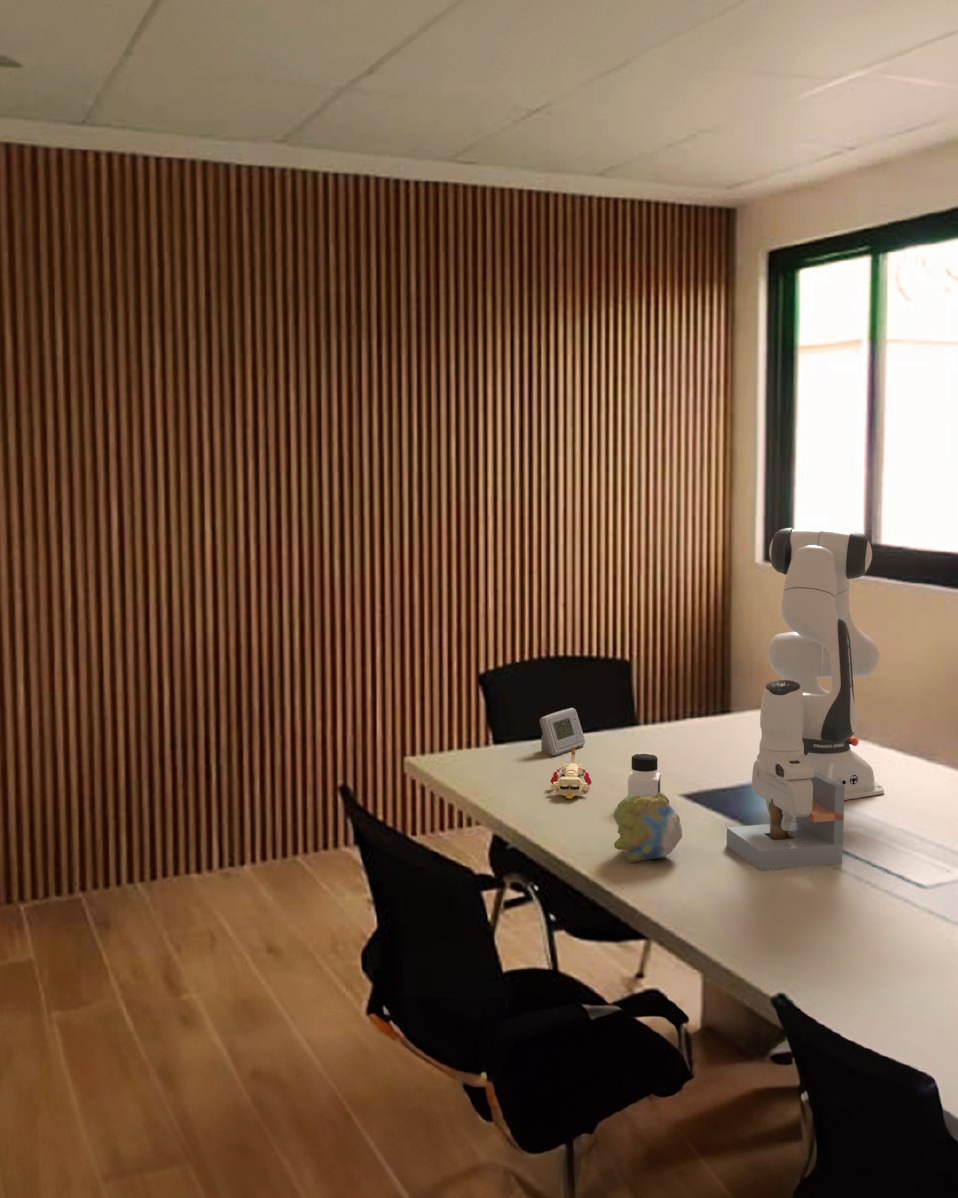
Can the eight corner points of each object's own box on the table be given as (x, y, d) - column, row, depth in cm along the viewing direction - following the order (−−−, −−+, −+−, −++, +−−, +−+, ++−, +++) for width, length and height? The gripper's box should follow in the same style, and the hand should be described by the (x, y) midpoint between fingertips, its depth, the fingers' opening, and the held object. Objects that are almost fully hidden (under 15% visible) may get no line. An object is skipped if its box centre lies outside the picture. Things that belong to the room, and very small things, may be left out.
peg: (782, 842, 266) (783, 795, 265) (790, 847, 263) (792, 800, 262) (766, 843, 265) (767, 796, 264) (774, 849, 262) (775, 801, 261)
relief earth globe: (684, 787, 259) (638, 774, 271) (625, 823, 251) (580, 807, 264) (701, 848, 262) (654, 831, 275) (643, 884, 255) (598, 866, 268)
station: (804, 839, 275) (806, 766, 272) (842, 863, 259) (844, 786, 257) (726, 845, 270) (727, 772, 268) (760, 870, 255) (761, 792, 253)
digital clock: (552, 758, 345) (552, 719, 343) (529, 752, 352) (529, 714, 350) (594, 748, 355) (594, 710, 354) (570, 742, 362) (571, 705, 361)
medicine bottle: (658, 809, 297) (658, 759, 295) (627, 808, 298) (627, 758, 297) (660, 801, 304) (660, 751, 302) (630, 799, 305) (630, 750, 304)
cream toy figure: (554, 778, 329) (548, 798, 304) (554, 745, 329) (548, 761, 304) (592, 779, 328) (590, 799, 303) (592, 746, 328) (590, 762, 303)
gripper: (744, 749, 271) (743, 813, 273) (790, 774, 251) (788, 842, 253) (772, 747, 273) (770, 810, 274) (819, 772, 253) (817, 839, 255)
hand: (779, 826), depth 264 cm, fingers closed on peg, 4 cm apart
